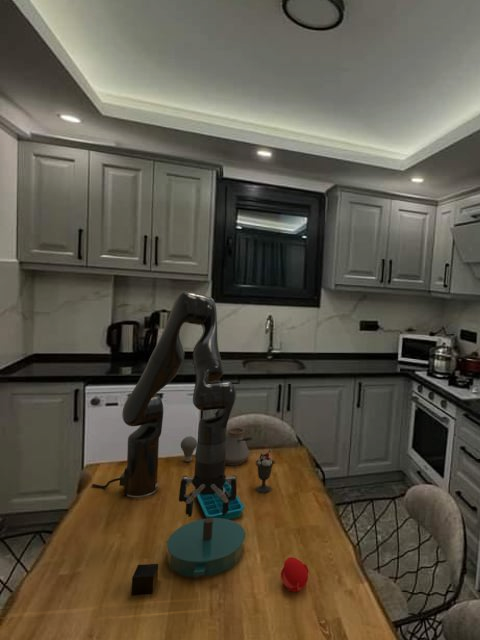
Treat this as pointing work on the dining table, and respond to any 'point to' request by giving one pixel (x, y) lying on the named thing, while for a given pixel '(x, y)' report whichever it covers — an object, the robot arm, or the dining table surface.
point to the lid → (206, 540)
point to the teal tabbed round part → (204, 565)
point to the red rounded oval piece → (294, 574)
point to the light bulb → (188, 447)
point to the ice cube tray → (220, 505)
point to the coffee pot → (236, 447)
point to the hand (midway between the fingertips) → (207, 514)
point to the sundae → (264, 471)
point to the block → (144, 579)
